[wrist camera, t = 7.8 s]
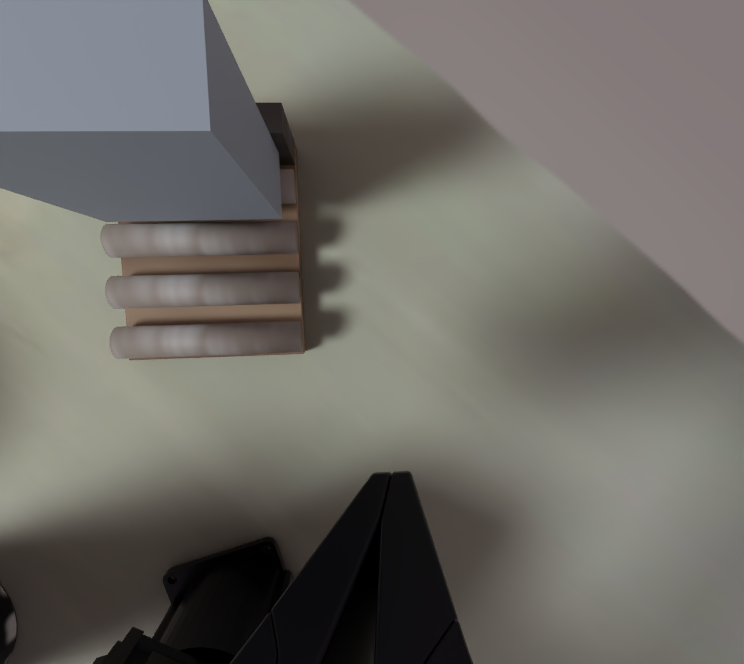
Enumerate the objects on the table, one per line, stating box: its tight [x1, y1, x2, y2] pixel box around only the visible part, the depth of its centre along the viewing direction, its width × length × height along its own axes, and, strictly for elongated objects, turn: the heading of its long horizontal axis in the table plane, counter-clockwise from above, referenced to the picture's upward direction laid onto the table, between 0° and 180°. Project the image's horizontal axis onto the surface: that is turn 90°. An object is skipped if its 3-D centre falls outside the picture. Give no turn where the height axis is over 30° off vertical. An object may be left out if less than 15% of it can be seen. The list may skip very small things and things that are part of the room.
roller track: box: [101, 103, 305, 360], centre depth 19 cm, size 11×9×5 cm
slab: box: [0, 0, 282, 222], centre depth 14 cm, size 3×8×10 cm, turn 92°
